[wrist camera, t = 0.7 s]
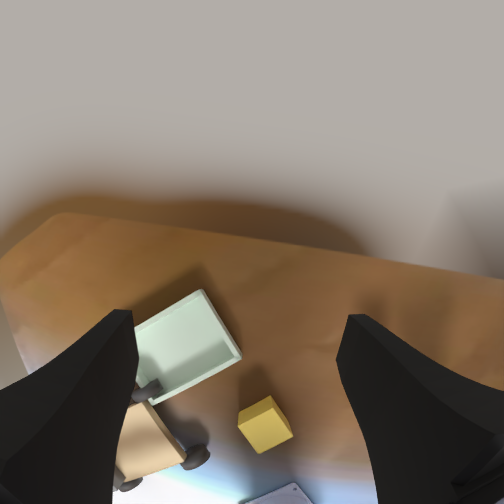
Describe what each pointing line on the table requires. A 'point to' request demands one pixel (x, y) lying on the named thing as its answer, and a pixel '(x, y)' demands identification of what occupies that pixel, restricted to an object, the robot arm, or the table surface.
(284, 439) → the yellow cube
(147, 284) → the table surface
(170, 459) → the trolley
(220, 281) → the table surface
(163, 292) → the table surface
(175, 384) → the tray
